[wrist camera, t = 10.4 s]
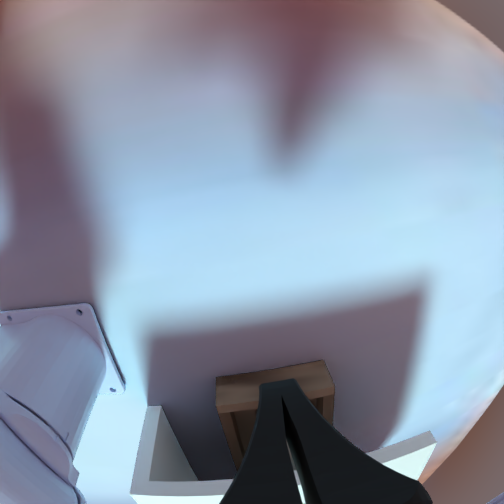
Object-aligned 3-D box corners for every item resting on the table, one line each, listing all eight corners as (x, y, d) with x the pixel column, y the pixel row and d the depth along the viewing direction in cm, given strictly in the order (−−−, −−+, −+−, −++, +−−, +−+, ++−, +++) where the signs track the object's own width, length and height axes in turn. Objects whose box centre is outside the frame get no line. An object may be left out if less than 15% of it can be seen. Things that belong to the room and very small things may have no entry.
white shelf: (194, 492, 28) (194, 555, 20) (147, 406, 23) (129, 494, 15) (367, 464, 29) (390, 522, 21) (389, 367, 23) (437, 442, 15)
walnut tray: (240, 461, 26) (244, 511, 20) (215, 377, 22) (215, 439, 16) (321, 448, 26) (336, 495, 21) (323, 359, 22) (348, 417, 17)
